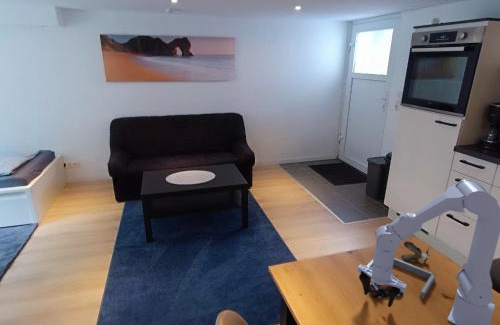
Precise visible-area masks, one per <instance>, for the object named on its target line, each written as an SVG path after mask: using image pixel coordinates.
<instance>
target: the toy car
mask: <svg viewBox="0 0 500 325" xmlns="http://www.w3.org/2000/svg"><path fill="white" fill-rule="evenodd" d="M391 288H392V286H390V285H386V284H377V283H375V282H373V280H371V281H370V290H369V293H368V294H370V296H371V297H372V298H373V299H382V298H389V290H390V289H391ZM404 294H405V292H404V293H403V292H401V291H400V293H399V294H398V295H397V297H401V296H403V295H404Z"/></svg>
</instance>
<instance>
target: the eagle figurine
mask: <svg viewBox="0 0 500 325" xmlns="http://www.w3.org/2000/svg"><path fill="white" fill-rule="evenodd" d="M403 246H404V247H405V248H406V249H408V250H409V251H411V252H412V253H413V254H402V255H401V256H400V258H401V259H402V260H403V261H407V262H408V261H414V262H417V261H419V260H422V261H423V262H424V263H425V264H426V263H427V260H429V259H428V257H430V255H429V251H430V248H427V249H426V251H425V252H423V253H422V249H421V248H420V247H417V246H416V245H415V244H414V243H413V242H411V241H408V240H407V241H405V242H403Z"/></svg>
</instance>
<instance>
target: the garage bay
mask: <svg viewBox="0 0 500 325" xmlns="http://www.w3.org/2000/svg"><path fill="white" fill-rule="evenodd" d="M366 266H368V267H373V259H372V260H370V261H369V262H368V264H366ZM393 266H396V267H399V268H400V269H403V270H405V271H408V272H409V273H413V274H415V275H417V276H420V277H422V278H425V279H427V281H426V283H425V284H424V286H423V288H422V289H421V291H420V295H419V298H420V299H424V298H425V297H426V295H427V293H428V292H429V290H430V288H431V287H432V285H433V283H434V281H435V280H436V273H434V272H431V271H428V270H426V269H423V268H421V267H419V266H417V265H416V266H415V265H414V264H411V263H409V262H406V261H405V260H401V259H398V258H396V257H394V262H393Z"/></svg>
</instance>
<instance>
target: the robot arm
mask: <svg viewBox="0 0 500 325" xmlns="http://www.w3.org/2000/svg"><path fill="white" fill-rule="evenodd" d="M465 209H466V210H467V211H468V212H470V213H471V214H474V215H477V219H476V223H475V228H474V232H473V236H472V241H471V244H470V250H469V254H468V258H467V262H466V263H463V264H462V266H461V268H460V270H459V271H457V273H456V280H457V282H458V283H459V284H458V288H457V290H456V294H455V298H454V302H453V306H452V307H451V308H452V309H451V310H450V312H449V315H448V316H447V318H446V320H447V321H448V322H450V323H451V324H454V325H492V324H493V322H492V318H493V315H494V312H495V308H496V304H494V303H492V302H493V301H494V294H493V290H492V289H493V282H492V277H491V269H492V264H493V260H494V257H495V253H496V249H497V245H498V241H499V238H500V205H499V203H498V199H496V197H495V196H493V195H492V194H490V193H489V192H488V191H487V190H486V189H485V188H484V187H483V186H481V185H480V184H479V183H478V182H476V181H475V180H474V179H469V178H468V179H461V180H460V181H458V182H457V183H455V184H452V185H450V186H449V187H448V188H447V189H446V190H445V191H444V192H443V193H442V194H441V195H439V196H438V197H436V198H435V199H434V200H432V201H430V202H429V203H427V204H426V205H424V206H423V207H422V208H420V209H419V210H418V211H416V212H415V213H413V212H406V213H405V214H403V213H401V214H400V215H398V218H396V219H395V220H393V221H392V222H390V223H386V224H385V225H381V226H378V228H377V229H376V231H374V235H375V238H376V240H375V247H374V251H373V258H372V260H373V267H368V266H367V265H364V264H362V263H361V264H359V265H358V266H357V273H359V276H358V279H359V281H360V282H361V285H362V287H363V288H362V289H363V293H364V296H367V295H368V294H370V293H369V290H370V285H371V282H370V281H372V282H373V283H374V282H375V283H377V284H379V285H390V286H392V288H391V289H390V290H389V297H388V303H387V307H388V308H392V306H393V305H394V304H393V303H394V301H395V299H396V298H397V297H398V296H397V295H398V294H399V293H400V291H401V292H403V293H404V294H405V292H406V290H407V286H408V285H407V284H406V283H405V282H403V281H402V280H399V279H398V278H397V277H395V276H394V275H393V268H394V265H393V262H394V258H395V255H396V254H395V253H396V252H395V251H396V250H397V249H398V247H399V246H400V244H401V243H402V241H404V240H406V239H408V238H409V237H411V236H412V235H414V234H416V233H417V232H419V231H421V230H422V227H423V224H425V223H427V222H429V221H431V220H433V219H435V218H437V217H439V216H441V215H442V214H445V213H447V212H449V211H453V212H458V213H463V214H464V213H466V211H465Z"/></svg>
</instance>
